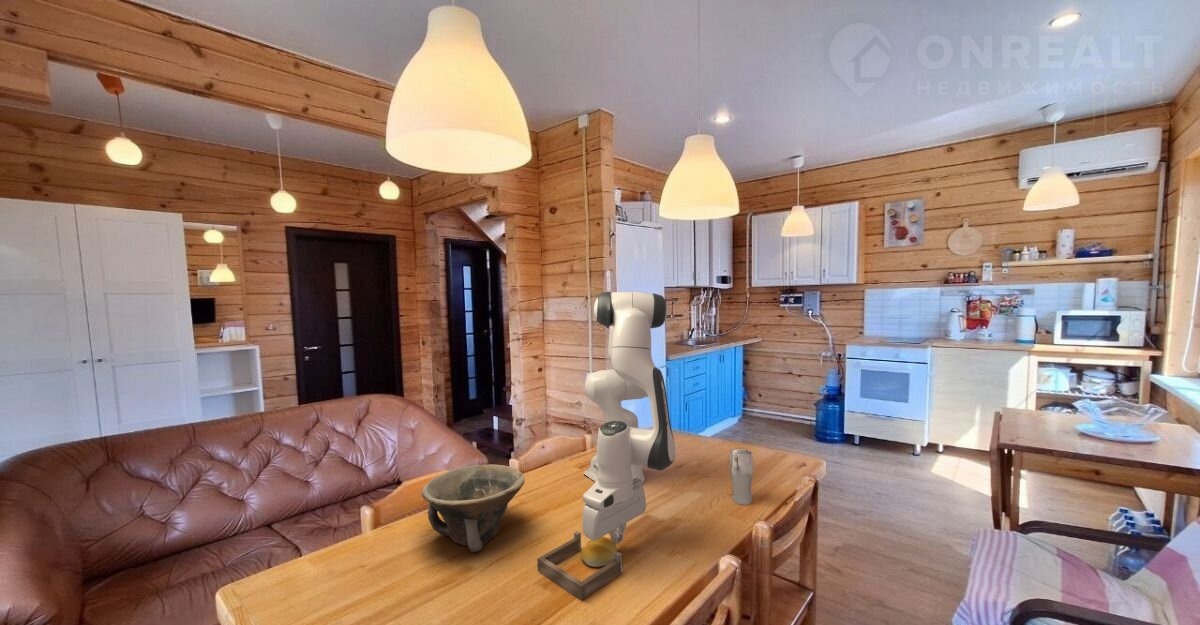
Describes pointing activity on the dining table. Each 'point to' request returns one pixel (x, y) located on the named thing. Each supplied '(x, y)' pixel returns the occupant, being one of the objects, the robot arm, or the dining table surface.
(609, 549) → the bread roll
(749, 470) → the beer glass
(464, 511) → the bowl
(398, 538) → the dining table surface
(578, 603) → the dining table surface
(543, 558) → the bay
